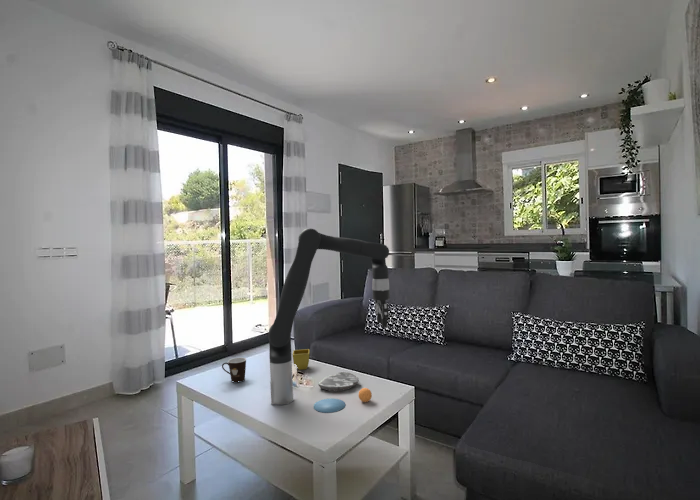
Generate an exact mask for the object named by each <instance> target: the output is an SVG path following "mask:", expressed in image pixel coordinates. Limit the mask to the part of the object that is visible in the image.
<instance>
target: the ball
mask: <svg viewBox="0 0 700 500" xmlns="http://www.w3.org/2000/svg"><path fill="white" fill-rule="evenodd" d="M372 395H373V394H372V390H371V389H369V388H367V387H363V388H361V389H360V390H359V391H358V398H359V400H360V401H361V402H362V403H368V402H369V401H370V400H371V399H372Z"/></svg>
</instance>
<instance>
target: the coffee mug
mask: <svg viewBox="0 0 700 500" xmlns="http://www.w3.org/2000/svg"><path fill="white" fill-rule="evenodd" d="M224 365H228V369H229V371H228V370H227V369H225V368H224ZM246 367H247V358H245V357H235V358H234V357H233V358H230V359H229V360H228V361H227V362H223V363H222V365H221V368H222V370H223V371H224V372H226V373H227V374H229V375H230V381H231V382H232V381H234V382H237V383H239V382H238V381H242V382H244V381H245V379H246V369H247V368H246ZM243 380H244V381H243ZM234 382H233V383H234Z"/></svg>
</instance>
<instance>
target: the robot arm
mask: <svg viewBox="0 0 700 500" xmlns="http://www.w3.org/2000/svg"><path fill="white" fill-rule="evenodd" d="M297 239H298V245H297V248H296V253H295V256H294V260H293V262H292V264H291V266H290V268H289V270H288V272H287V275H286V277H285V279H284V283H283V286H282V290H281V294H280V298H279V305H278V310H277V314H276V316H275V319H274V321H273V324H272V325H270V327H269V330H268V335H267V336H268V343H269V344H268V345H269V346H268V347H269V356H268V357H269V371H270V372H269V374H270V381H269V383H270V386H269V387H270V403H271V404H270V405H277V406H281V405H288V404H291V403H292V402H293V401H294V384H293V383H294V382H293V352H292V337H291V335H292V329H293V326H294V321H295V317H296V314H297V313H298V309H299V308H300V305H301V303H302V300H303V296H304V295H305V291H306V287H307V285H308V281H309V276H310V272H311V268H312V263H313V260H314V258H315V256H316V253H317V251H318V250H325V251H333V252H337V253H341V254H346V255H351V256H355V257H366V258H370V261H371V267H372V270H371V271H372V272H371V273H372V275H371V276H372V283H371V284H372V285H371V287H372V290H371V291H372V299H373V300H374V303H375V304H374V307H375V308H374V309H375V310H374V311H375V313H376V322H377V324H381V326H382V328H387V327H388V319H389V317H390V314H389V303H386V301H388V300H390V298H391V297H390V296H391V295H390V293H391V292H390V280H389V268H388V265H387V264H386V263H387V262H386V259H387V258H388V256H389V254H390V249H389V247H388V246H387V245H386V244H385V243H384V244H383V243H378V242H371V241H365V240H361V239H355V238H349V237H340V236H333V235H326V234H323V233H320V232H318V230H316V229H314V228H305V229H303V230H302V231H301V232H300V233H299V235H298V237H297Z"/></svg>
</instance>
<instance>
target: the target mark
mask: <svg viewBox="0 0 700 500" xmlns="http://www.w3.org/2000/svg"><path fill="white" fill-rule="evenodd" d="M345 407H346V402H345V401H344V400H342V399H341V398H340V399H339V398H331V397H330V398H324V399H320V400H318V401H316V402H315V403H314V404H313V409H314V411H316V412H319V413H325V414H326V413H327V414H329V413H331V414H332V413H336V412H340V411H341V410H343V409H344V408H345Z"/></svg>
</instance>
